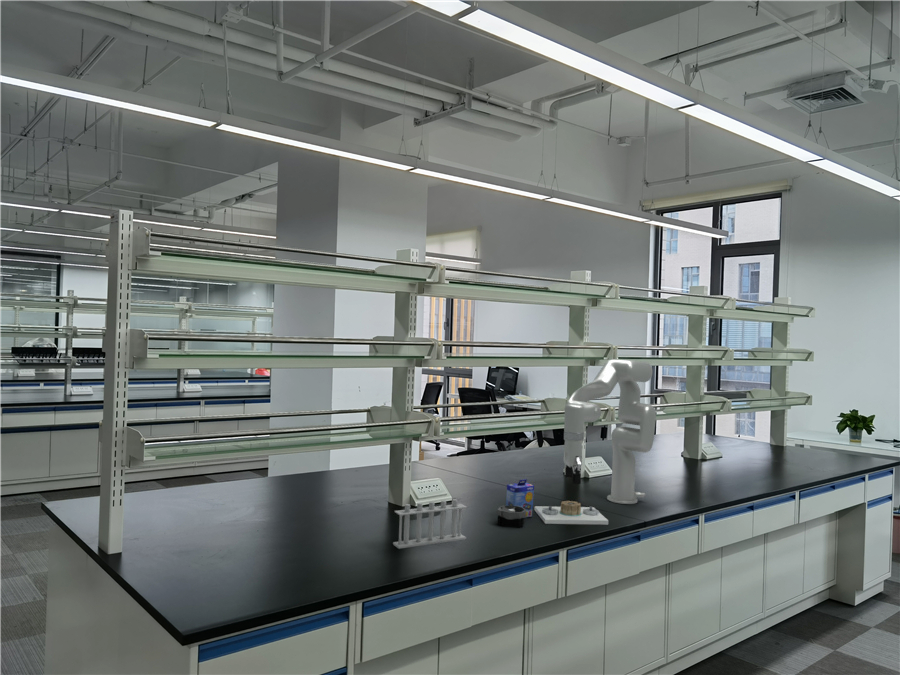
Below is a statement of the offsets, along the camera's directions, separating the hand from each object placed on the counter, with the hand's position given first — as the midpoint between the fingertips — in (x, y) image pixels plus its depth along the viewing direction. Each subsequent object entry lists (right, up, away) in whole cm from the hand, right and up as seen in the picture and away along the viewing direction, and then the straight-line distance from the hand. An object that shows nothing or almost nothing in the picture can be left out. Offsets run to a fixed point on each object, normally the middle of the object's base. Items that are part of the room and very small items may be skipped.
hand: (572, 480), depth 250 cm
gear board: (-1, -14, 0) cm, 14 cm away
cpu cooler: (-25, -14, -12) cm, 31 cm away
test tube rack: (-54, -13, -36) cm, 66 cm away
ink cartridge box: (-21, -14, -2) cm, 25 cm away
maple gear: (-1, -12, 0) cm, 12 cm away
